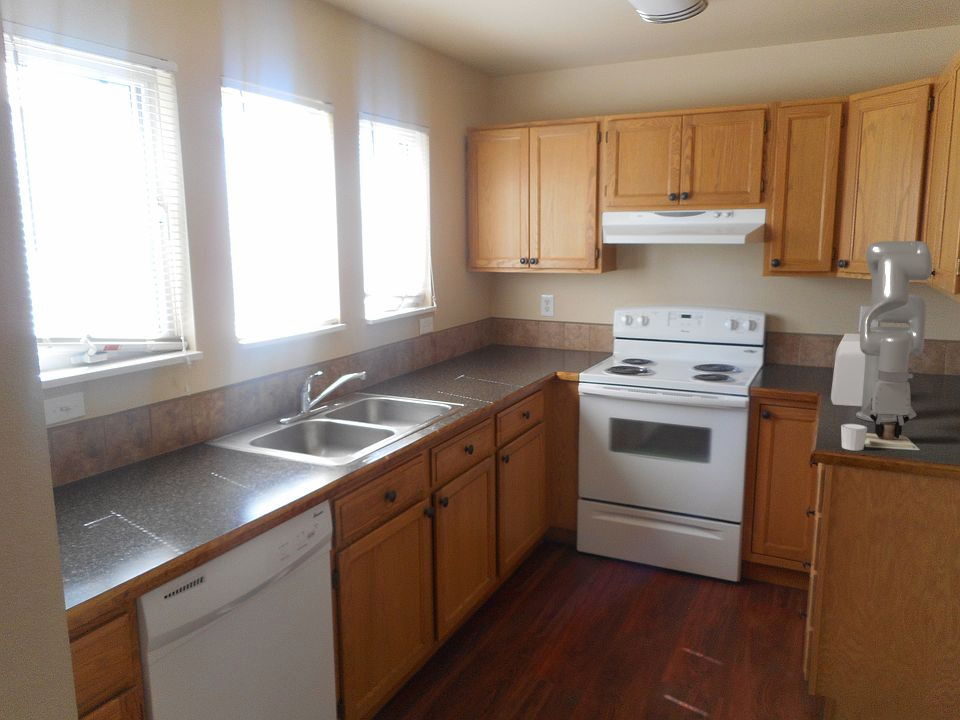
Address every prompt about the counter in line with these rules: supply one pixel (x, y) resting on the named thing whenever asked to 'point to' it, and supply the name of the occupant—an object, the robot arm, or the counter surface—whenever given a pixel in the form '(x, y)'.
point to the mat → (891, 447)
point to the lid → (888, 438)
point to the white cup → (853, 436)
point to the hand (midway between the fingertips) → (887, 436)
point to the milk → (848, 372)
